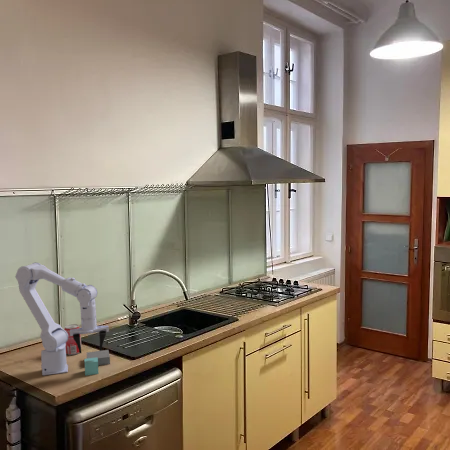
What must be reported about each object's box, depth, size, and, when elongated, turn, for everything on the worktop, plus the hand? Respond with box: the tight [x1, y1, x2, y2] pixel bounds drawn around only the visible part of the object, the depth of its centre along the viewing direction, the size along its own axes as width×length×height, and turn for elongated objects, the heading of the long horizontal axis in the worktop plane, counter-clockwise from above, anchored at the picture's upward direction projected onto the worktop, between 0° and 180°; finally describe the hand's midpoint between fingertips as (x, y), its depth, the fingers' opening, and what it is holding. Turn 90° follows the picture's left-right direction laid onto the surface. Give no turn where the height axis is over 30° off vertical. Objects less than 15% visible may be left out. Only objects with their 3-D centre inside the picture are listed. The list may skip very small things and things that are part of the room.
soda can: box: [63, 323, 82, 356], centre depth 221 cm, size 7×7×12 cm
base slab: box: [86, 349, 111, 366], centre depth 210 cm, size 9×9×3 cm
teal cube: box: [84, 357, 100, 376], centre depth 199 cm, size 5×5×5 cm
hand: (90, 351), depth 198 cm, fingers open, 7 cm apart
